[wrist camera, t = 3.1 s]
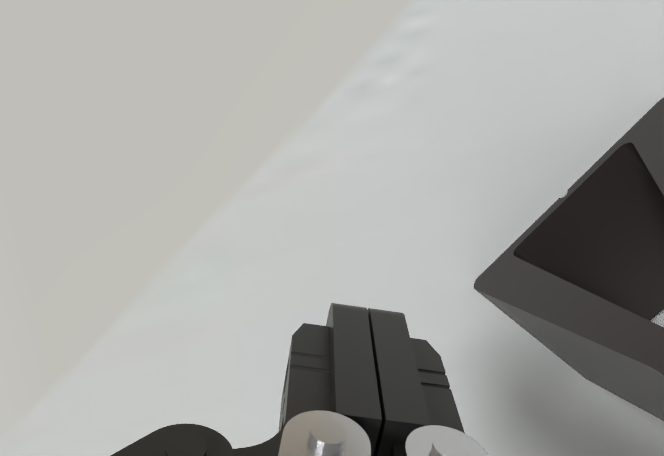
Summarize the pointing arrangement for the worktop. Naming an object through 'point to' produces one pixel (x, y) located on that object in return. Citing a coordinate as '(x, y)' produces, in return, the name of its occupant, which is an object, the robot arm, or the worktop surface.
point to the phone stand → (598, 270)
